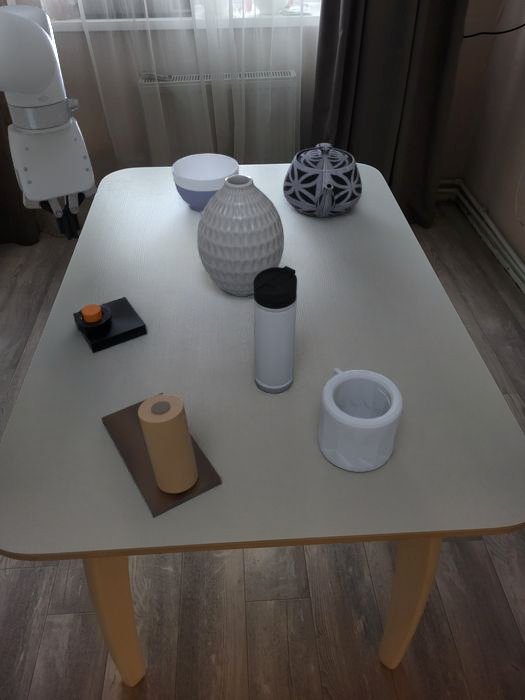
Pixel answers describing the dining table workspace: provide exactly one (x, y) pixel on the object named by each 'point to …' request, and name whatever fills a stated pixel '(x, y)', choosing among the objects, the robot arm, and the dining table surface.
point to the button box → (111, 325)
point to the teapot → (323, 181)
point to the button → (92, 313)
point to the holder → (137, 460)
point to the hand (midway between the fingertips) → (70, 235)
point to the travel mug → (274, 328)
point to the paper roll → (168, 442)
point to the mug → (359, 419)
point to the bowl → (202, 177)
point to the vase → (239, 235)
